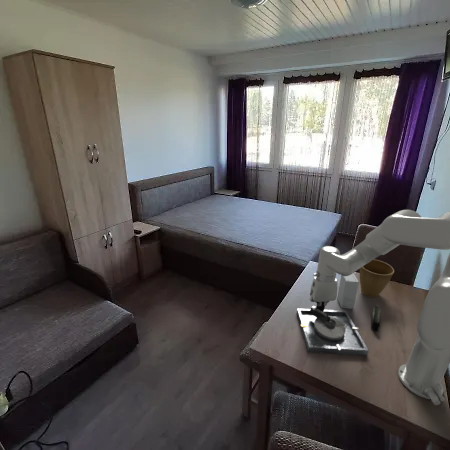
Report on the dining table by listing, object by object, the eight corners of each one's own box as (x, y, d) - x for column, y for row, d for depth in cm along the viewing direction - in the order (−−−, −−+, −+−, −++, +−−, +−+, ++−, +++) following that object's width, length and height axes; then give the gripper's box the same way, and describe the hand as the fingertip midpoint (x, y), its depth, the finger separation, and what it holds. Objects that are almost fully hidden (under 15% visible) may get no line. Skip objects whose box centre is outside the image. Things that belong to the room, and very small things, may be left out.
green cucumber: (381, 324, 109) (380, 302, 121) (373, 321, 110) (373, 300, 122) (378, 333, 111) (378, 311, 123) (370, 330, 112) (370, 309, 124)
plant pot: (349, 284, 143) (355, 258, 137) (376, 285, 143) (384, 259, 137) (361, 301, 129) (368, 273, 123) (392, 303, 129) (400, 275, 123)
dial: (350, 332, 108) (353, 322, 106) (332, 345, 102) (335, 334, 100) (319, 311, 120) (321, 301, 118) (301, 321, 114) (303, 310, 112)
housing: (369, 357, 99) (371, 351, 98) (306, 353, 100) (307, 347, 99) (346, 314, 121) (347, 309, 120) (294, 311, 121) (295, 306, 120)
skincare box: (353, 309, 124) (360, 282, 118) (340, 307, 125) (346, 281, 119) (348, 298, 132) (354, 272, 126) (336, 297, 133) (341, 271, 127)
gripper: (312, 281, 105) (307, 318, 112) (347, 279, 107) (340, 316, 113) (305, 271, 112) (300, 307, 119) (338, 269, 114) (331, 304, 120)
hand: (319, 311), depth 116 cm, fingers closed
